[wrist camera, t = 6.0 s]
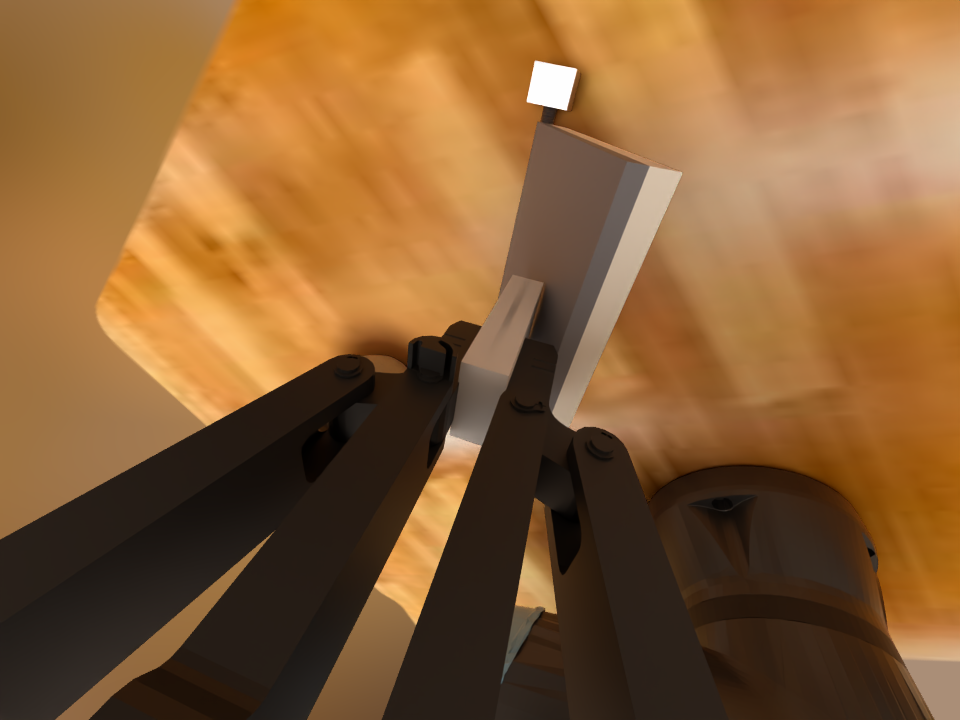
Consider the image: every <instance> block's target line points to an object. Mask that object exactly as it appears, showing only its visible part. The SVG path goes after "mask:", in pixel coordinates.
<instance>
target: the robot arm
mask: <svg viewBox="0 0 960 720" xmlns="http://www.w3.org/2000/svg"><path fill="white" fill-rule="evenodd" d="M543 284H544V283H543V282H539V281H535V280H531V279H527V278H524V277H520V276H516V275H512V277H511V279H510V280H509V282H508V284H507V285H506V287H505V289H504V290H503V292H502V294H501V295H500V297H499V299H498V300H497V302H496V304H495V305H494V307H493V309H492V311H491V312H490V314H489V316H488V317H487V319H486V321H485V322H484V324H483V326H479V325H475V324H472V323H468V322H465V321H459V322H457V323H455V324H452V325H450V327H449V328H448V329H447V331H446V332H445V333H444V335H443V336H442V337H436V336H422V337H418V338H414V339H413V340H412V341H410V342H409V345H408V364H407V369H406V370H405V371H404V373H383V372H375V367H374V364H373V362H371V361H370V360H369V359H368V358H365V357H363V356H360V355H351V354H348V355H340V356H337V357H334V358H332V359H329V360H328V361H326V362H324V363H322V364H320V365H318V366H317V367H315V368H313V369H311V370H309V371H307V372H306V373H304V374H302V375H300V376H298V377H297V378H295V379H293V380H291V381H289V382H287V383H286V384H284V385H282V386H280V387H278V388H276V389H275V390H273V391H271V392H269V393H267V394H265V395H264V396H262V397H260V398H258V399H256V400H254V401H253V402H251V403H249V404H247V405H245V406H244V407H242V408H240V409H238V410H236V411H234V412H233V413H231V414H229V415H227V416H225V417H223V418H222V419H220V420H218V421H216V422H214V423H212V424H211V425H209V426H207V427H205V428H203V429H202V430H200V431H198V432H196V433H194V434H192V435H191V436H189V437H187V438H185V439H183V440H181V441H180V442H178V443H176V444H174V445H172V446H170V447H169V448H167V449H165V450H163V451H161V452H159V453H158V454H156V455H154V456H152V457H150V458H149V459H147V460H145V461H143V462H141V463H139V464H138V465H136V466H134V467H132V468H130V469H129V470H127V471H125V472H123V473H121V474H119V475H118V476H116V477H114V478H112V479H110V480H108V481H107V482H105V483H103V484H101V485H99V486H97V487H96V488H94V489H92V490H90V491H88V492H86V493H85V494H83V495H81V496H79V497H77V498H75V499H74V500H72V501H70V502H68V503H66V504H65V505H63V506H61V507H59V508H57V509H56V510H54V511H52V512H50V513H48V514H46V515H44V516H43V517H41V518H39V519H37V520H35V521H33V522H32V523H30V524H28V525H26V526H24V527H22V528H21V529H19V530H17V531H15V532H13V533H12V534H10V535H8V536H6V537H4V538H2V539H1V540H0V720H55V719H56V718H57V717H58V716H60V715H61V714H62V713H63V712H64V711H65V710H67V709H68V708H69V707H70V706H71V705H72V704H74V703H75V702H76V701H77V700H78V699H79V698H81V697H82V696H83V695H84V694H85V693H86V692H88V691H89V690H90V689H91V688H92V687H93V686H95V685H96V684H97V683H98V682H99V681H100V680H102V679H103V678H104V677H105V676H106V675H107V674H108V673H110V672H111V671H112V670H113V669H114V668H115V667H117V666H118V665H119V664H120V663H121V662H122V661H123V660H125V659H126V658H127V657H128V656H129V655H131V654H132V653H133V652H134V651H135V650H136V649H138V648H139V647H140V646H141V645H142V644H143V643H145V642H146V641H147V640H148V639H149V638H150V637H151V636H153V635H154V634H155V633H156V632H157V631H158V630H160V629H161V628H162V627H163V626H164V625H165V624H167V623H168V622H169V621H170V620H171V619H172V618H174V617H175V616H176V615H177V614H178V613H179V612H181V611H182V610H183V609H184V608H185V607H186V606H188V605H189V604H190V603H191V602H192V601H193V600H195V599H196V598H197V597H198V596H199V595H200V594H202V593H203V592H204V591H205V590H206V589H207V588H208V587H210V586H211V585H212V584H213V583H214V582H215V581H217V580H218V579H219V578H220V577H221V576H223V575H224V574H225V573H226V572H227V571H228V570H230V568H232V567H233V566H234V565H235V564H236V563H238V562H239V561H240V560H241V559H242V558H243V557H245V556H246V555H247V554H248V553H249V552H250V551H252V550H253V549H254V548H255V547H256V546H257V545H258V544H260V543H261V542H262V541H263V540H264V539H266V538H267V537H268V536H269V535H270V534H271V533H272V532H274V533H273V534H272V535H271V536H270V538H269V539H268V540H267V541H266V543H265V544H264V545H263V546H262V547H261V549H260V550H259V551H258V552H257V554H256V555H255V556H254V557H253V559H252V560H251V561H250V562H249V563H248V565H247V566H246V567H245V568H244V570H243V571H242V572H241V573H240V574H239V576H238V577H237V578H236V579H235V581H234V582H233V583H232V584H231V586H230V587H229V588H228V589H227V591H226V592H225V593H224V594H223V595H222V597H221V598H220V599H219V601H218V602H217V603H216V604H215V605H214V607H213V608H212V609H211V610H210V611H209V613H208V614H207V615H206V616H205V618H204V619H203V620H202V621H201V622H200V624H199V625H198V626H197V628H196V629H195V630H194V631H193V632H192V634H191V635H190V636H189V637H188V638H187V640H186V641H185V642H184V644H183V645H182V646H181V647H180V648H179V649H178V650H177V651H176V652H175V654H174V655H173V656H172V657H171V658H170V659H169V660H167V661H166V662H165V663H164V664H162V665H161V666H160V667H158V668H156V669H154V670H152V671H150V672H148V673H145V674H143V675H141V676H139V677H137V678H135V679H133V680H132V681H131V682H129V683H128V684H127V685H125V686H124V687H123V688H122V689H120V690H119V691H118V692H117V693H115V694H114V695H113V696H112V697H111V698H110V699H109V700H108V701H107V702H106V703H105V704H104V705H103V706H102V707H101V708H100V709H99V710H98V711H97V712H96V713H95V714H94V715H93V716H92V717H91V718H90V719H89V720H307V718H308V716H309V714H310V712H311V710H312V708H313V706H314V704H315V702H316V700H317V698H318V696H319V694H320V692H321V690H322V689H323V687H324V685H325V683H326V681H327V679H328V676H329V674H330V673H331V670H332V668H333V667H334V665H335V663H336V661H337V659H338V657H339V655H340V653H341V651H342V649H343V647H344V645H345V643H346V641H347V639H348V637H349V635H350V633H351V631H352V629H353V627H354V625H355V623H356V621H357V619H358V617H359V615H360V613H361V611H362V609H363V607H364V605H365V603H366V601H367V599H368V597H369V595H370V593H371V591H372V589H373V587H374V585H375V583H376V581H377V579H378V577H379V575H380V573H381V571H382V569H383V567H384V565H385V563H386V561H387V560H388V558H389V556H390V554H391V552H392V550H393V548H394V546H395V544H396V542H397V540H398V538H399V536H400V534H401V532H402V530H403V528H404V526H405V524H406V522H407V520H408V518H409V516H410V514H411V512H412V510H413V508H414V506H415V504H416V502H417V500H418V498H419V496H420V494H421V492H422V490H423V488H424V486H425V484H426V482H427V480H428V478H429V476H430V474H431V472H432V470H433V468H434V466H435V464H436V462H437V460H438V458H439V456H440V454H441V452H442V450H443V448H444V443H445V437H446V434H447V432H448V430H449V428H450V426H451V429H450V435H451V436H454V437H457V438H460V439H463V440H466V441H469V442H472V443H475V444H478V445H481V446H482V447H481V450H480V452H479V455H478V458H477V461H476V463H475V466H474V469H473V472H472V474H471V477H470V480H469V483H468V485H467V488H466V491H465V493H464V496H463V499H462V502H461V504H460V507H459V510H458V513H457V515H456V518H455V521H454V524H453V526H452V529H451V532H450V535H449V537H448V540H447V543H446V545H445V548H444V551H443V554H442V556H441V559H440V562H439V565H438V567H437V570H436V573H435V576H434V578H433V581H432V584H431V586H430V589H429V592H428V595H427V597H426V600H425V603H424V606H423V608H422V611H421V614H420V617H419V619H418V622H417V625H416V627H415V630H414V633H413V636H412V639H411V641H410V644H409V647H408V649H407V652H406V655H405V658H404V661H403V663H402V666H401V668H400V671H399V674H398V677H397V680H396V682H395V685H394V688H393V691H392V693H391V696H390V699H389V701H388V704H387V707H386V709H385V712H384V715H383V718H382V720H934V718H933V716H932V714H931V712H930V710H929V709H928V707H927V705H926V703H925V701H924V699H923V697H922V695H921V693H920V692H919V690H918V688H917V686H916V684H915V682H914V681H913V679H912V677H911V675H910V673H909V672H908V670H907V668H906V666H905V664H904V662H903V660H902V658H901V656H900V654H899V653H898V651H897V649H896V647H895V645H894V643H893V641H892V639H891V637H890V635H889V632H888V627H887V620H886V613H885V607H884V601H883V596H882V591H881V587H880V583H879V580H878V577H877V574H876V572H877V569H878V557H877V551H876V547H875V544H874V542H873V539H872V537H871V535H870V534H869V532H868V530H867V529H866V527H865V525H864V524H863V522H862V520H861V519H860V517H859V515H858V514H857V512H856V511H855V509H854V508H853V507H852V505H851V504H850V503H849V502H848V501H847V500H846V499H845V498H844V497H843V496H841V495H840V494H839V493H837V492H836V491H834V490H833V489H831V488H830V487H828V486H826V485H824V484H822V483H820V482H818V481H816V480H813V479H811V478H808V477H805V476H803V475H799V474H796V473H792V472H788V471H784V470H779V469H773V468H765V467H753V466H731V467H720V468H713V469H707V470H703V471H699V472H695V473H692V474H689V475H686V476H683V477H681V478H679V479H677V480H675V481H673V482H671V483H669V484H667V485H666V486H665V487H663V488H662V489H661V490H659V491H658V492H657V493H656V494H655V495H654V496H653V498H652V499H651V500H650V502H649V504H647V501H646V499H645V496H644V493H643V491H642V488H641V485H640V483H639V480H638V477H637V475H636V472H635V469H634V467H633V464H632V461H631V459H630V456H629V453H628V451H627V449H626V448H625V446H624V444H623V443H622V442H621V441H620V440H619V439H618V438H617V437H616V436H615V435H613V434H611V433H610V432H608V431H606V430H604V429H600V428H596V427H584V428H582V429H579V430H577V432H575V431H573V430H572V429H570V428H568V427H566V426H565V425H563V424H562V423H561V422H559V421H558V420H557V419H556V418H555V417H554V415H553V414H552V412H551V410H550V407H549V400H550V395H551V390H552V385H553V380H554V375H555V369H556V364H557V359H558V354H557V351H556V349H555V347H554V346H553V345H550V344H546V343H543V342H539V341H536V340H532V339H529V335H530V331H531V328H532V324H533V320H534V317H535V313H536V310H537V306H538V302H539V299H540V295H541V291H542V288H543ZM534 497H535V498H537V499H538V500H539V501H541V502H542V503H544V504H545V507H544V510H545V518H546V526H547V534H548V543H549V551H550V559H551V567H552V576H553V584H554V592H555V600H556V608H557V614H553V613H548V612H545V608H543V607H536V608H535V609H533V608H528V607H522V606H517V605H515V603H516V597H517V591H518V586H519V580H520V575H521V569H522V563H523V558H524V552H525V547H526V541H527V535H528V530H529V524H530V519H531V513H532V507H533V502H534Z"/></svg>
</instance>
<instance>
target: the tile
mask: <svg viewBox="0 0 960 720" xmlns="http://www.w3.org/2000/svg"><path fill="white" fill-rule="evenodd" d="M682 174H683V172H680V171H678V170H675V169H672V168H670V167H667V166H665V165H662V164H659V163H657V162H654V161H652V160H649V159H646V158H644V157H641V156H639V155H636V154H633V153H631V152H628V151H626V150H623V149H620V148H618V147H615V146H613V145H610V144H608V143H605V142H602V141H600V140H597V139H595V138H592V137H589V136H587V135H584V134H582V133H579V132H576V131H574V130H571V129H569V128H566V127H561V126H556V125H551V124H547V123H542V122H537V127H536V131H535V136H534V140H533V145H532V149H531V154H530V158H529V163H528V167H527V172H526V176H525V180H524V185H523V189H522V194H521V198H520V203H519V207H518V212H517V216H516V221H515V225H514V230H513V234H512V239H511V243H510V248H509V252H508V257H507V261H506V266H505V270H504V275H503V279H502V284H501V288H500V293H499V297H500V295H501V294H502V292H503V290H504V289H505V287H506V285H507V284H508V282H509V280H510V279H511V277H512V275H516V276H520V277H524V278H527V279H531V280H535V281H539V282H543V283H544V284H543V288H542V291H541V295H540V299H539V302H538V306H537V310H536V313H535V317H534V320H533V324H532V328H531V331H530V335H529V339H532V340H536V341H539V342H543V343H546V344H550V345H553V346H554V347H555V349H556V351H557V354H558V359H557V364H556V369H555V375H554V380H553V385H552V390H551V395H550V400H549V407H550V410H551V412H552V414H553V415H554V417H555V418H556V419H557V420H558V421H559V422H561V423H562V424H563V425H565V426H566V427H568V428H569V426H570V424H571V422H572V420H573V417H574V415H575V413H576V411H577V408H578V406H579V404H580V402H581V399H582V397H583V395H584V393H585V390H586V388H587V386H588V384H589V382H590V379H591V377H592V375H593V373H594V370H595V368H596V366H597V364H598V361H599V359H600V357H601V355H602V352H603V350H604V348H605V346H606V344H607V341H608V339H609V337H610V335H611V332H612V330H613V328H614V326H615V323H616V321H617V319H618V317H619V314H620V312H621V310H622V308H623V306H624V303H625V301H626V299H627V297H628V294H629V292H630V290H631V288H632V285H633V283H634V281H635V279H636V276H637V274H638V272H639V270H640V268H641V265H642V263H643V261H644V259H645V256H646V254H647V252H648V250H649V247H650V245H651V243H652V241H653V239H654V236H655V234H656V232H657V230H658V227H659V225H660V223H661V221H662V218H663V216H664V214H665V212H666V209H667V207H668V205H669V203H670V201H671V198H672V196H673V194H674V192H675V189H676V187H677V185H678V183H679V180H680V178H681V176H682ZM499 297H498V299H499Z"/></svg>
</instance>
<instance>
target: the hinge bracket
mask: <svg viewBox="0 0 960 720" xmlns="http://www.w3.org/2000/svg"><path fill="white" fill-rule="evenodd" d="M580 77H581V73H580V72H579V71H578V69H575V68H570V67H565V66H560V65H554V64H549V63H544V62H539V61H535V64H534V69H533V74H532V78H531V83H530V88H529V93H528V98H527V102H530V103H534V104H539V105H544V109H543V113H542V118H541V122H542V123H547V124H551V125H553V124H554V120H555V116H556V112H557V108H558V109H562V110H567V111H572V107H573V103H574V99H575V95H576V92H577V88H578V84H579V80H580Z"/></svg>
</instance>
